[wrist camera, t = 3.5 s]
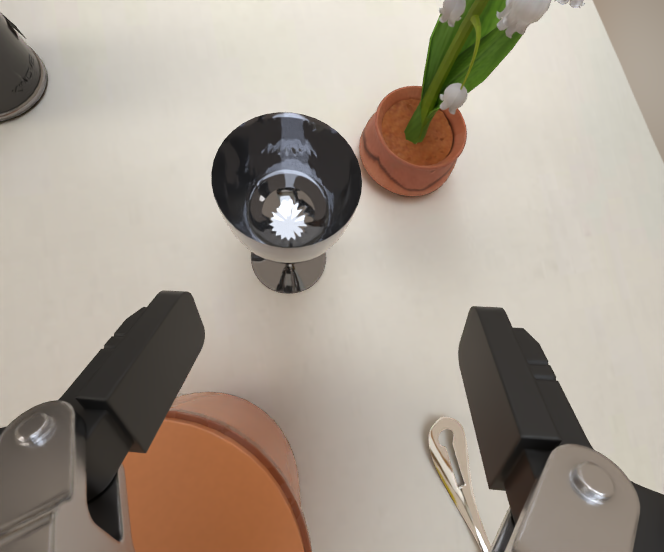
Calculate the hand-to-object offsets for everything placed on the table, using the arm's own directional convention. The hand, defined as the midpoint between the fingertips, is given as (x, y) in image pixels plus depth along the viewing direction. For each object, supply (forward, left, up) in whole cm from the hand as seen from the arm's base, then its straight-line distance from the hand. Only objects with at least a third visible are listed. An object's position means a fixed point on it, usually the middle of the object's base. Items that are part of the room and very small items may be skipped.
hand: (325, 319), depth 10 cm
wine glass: (-3, +8, -22) cm, 23 cm away
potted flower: (+7, +20, -22) cm, 30 cm away
